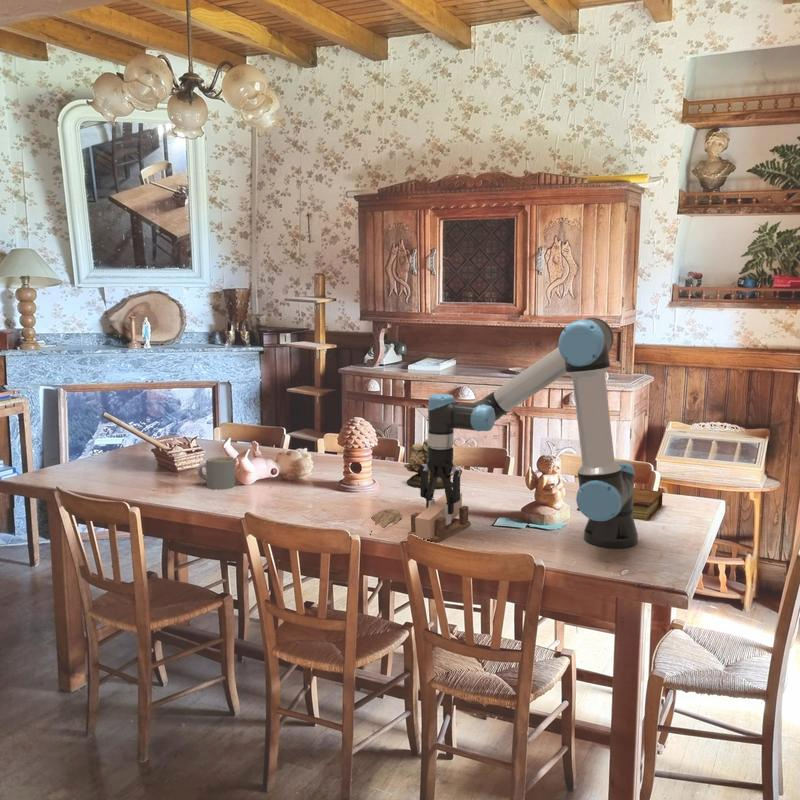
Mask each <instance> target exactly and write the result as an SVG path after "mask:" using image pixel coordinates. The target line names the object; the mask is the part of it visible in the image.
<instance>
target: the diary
mask: <svg viewBox="0 0 800 800" xmlns="http://www.w3.org/2000/svg"><path fill="white" fill-rule="evenodd" d="M663 496H664V495H663V491H661V490H650V489H643V488H638V487H637V488H636V487H634V492H633V513H632V515H633V519H634V520H637V521H638V520H639V521H646V522H649V521H650V520H651V519H652V518H653V517H654V516H655V514H657V512H658V511H659V510H660V509H661V508H662V506H663ZM577 510H578V512H581V511H580V510H579V508H578V507H577V508H576V511H577ZM652 516H653V517H652ZM651 517H652V518H651Z"/></svg>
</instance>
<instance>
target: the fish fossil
mask: <svg viewBox="0 0 800 800" xmlns="http://www.w3.org/2000/svg"><path fill="white" fill-rule="evenodd" d="M376 512H377V513H376ZM376 512H374V513H375V514H374V513H372V514H373V516H372V517H371V516H370V517H371V519H372V520H373V521H375V525H377V524H379V525H380V526H381V527H382V528H385V527H386V526H387V525H388V524H390V523H396V524H397V523H398V522H399V521H400V520H401V519H402V513H401V511H400V510H399V509H398V508H387V509H381V510H379V511H376ZM368 518H369V517H368ZM369 519H370V518H369ZM386 528H387V527H386ZM386 528H385V529H386Z"/></svg>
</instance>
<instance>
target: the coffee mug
mask: <svg viewBox="0 0 800 800" xmlns="http://www.w3.org/2000/svg"><path fill="white" fill-rule="evenodd" d="M235 464H236V463H235V457H233V456H229V455H217V456H211V457H207V458H206V460H205V462H201V463H200V464H199V465H198V467H197V475H198V477H199V478H200V479H202V480H204V481H206V487H207V488H208V489H210V490H215V489H217V490H229V489H232V488H234V487H236V466H235ZM203 468H204V469H205V470H206V471H205V472H206V473H205V474H204V473H203Z"/></svg>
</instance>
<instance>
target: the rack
mask: <svg viewBox="0 0 800 800" xmlns="http://www.w3.org/2000/svg"><path fill="white" fill-rule="evenodd" d="M420 513H421V512H414V513H412V514H411V515H410V531H409V532H408V533H407V536H408V535H409V534H414V535H416V527H415V517H417V516H418V515H419V514H420ZM469 526H471V520H469V506H467V505H462V507H460V508H459V514H458V518H457V517H455V518H454V519H453V520H451V524H449V525H447V526H446V518H443V517H440V518H438V519H436V535H435V536H433V537H432V538H431V539H427V540H430V541H429V542H432V541H434V542H433V543H437V542H438V543H440V542H442V541H443V540H445V539H447V538H449V537H451V536H453V535H454V534H456V533H458V532H461V530H463V529H466V528H468V527H469ZM423 539H424V538H423ZM427 540H426V541H427Z"/></svg>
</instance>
